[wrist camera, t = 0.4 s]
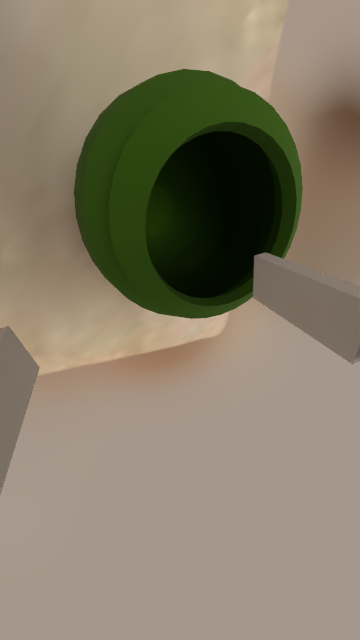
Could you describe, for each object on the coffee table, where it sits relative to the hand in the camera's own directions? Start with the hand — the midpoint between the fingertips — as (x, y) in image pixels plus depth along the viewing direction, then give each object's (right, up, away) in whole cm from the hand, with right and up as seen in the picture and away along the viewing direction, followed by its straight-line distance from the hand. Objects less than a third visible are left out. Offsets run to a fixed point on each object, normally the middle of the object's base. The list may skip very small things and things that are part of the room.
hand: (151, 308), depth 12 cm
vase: (-3, +17, +23) cm, 28 cm away
